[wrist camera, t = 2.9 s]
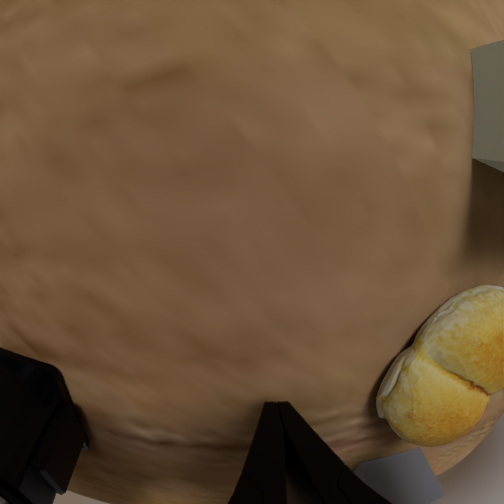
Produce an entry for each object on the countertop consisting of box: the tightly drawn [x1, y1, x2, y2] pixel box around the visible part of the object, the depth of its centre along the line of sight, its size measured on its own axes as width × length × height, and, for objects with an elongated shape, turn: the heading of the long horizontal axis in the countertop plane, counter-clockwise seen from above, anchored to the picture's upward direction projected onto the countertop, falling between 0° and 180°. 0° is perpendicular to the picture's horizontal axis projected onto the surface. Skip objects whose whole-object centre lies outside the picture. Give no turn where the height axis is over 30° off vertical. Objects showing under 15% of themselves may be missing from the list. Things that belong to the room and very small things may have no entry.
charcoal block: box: [354, 447, 445, 504], centre depth 13 cm, size 5×5×5 cm
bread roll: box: [376, 285, 504, 447], centre depth 10 cm, size 8×9×4 cm
